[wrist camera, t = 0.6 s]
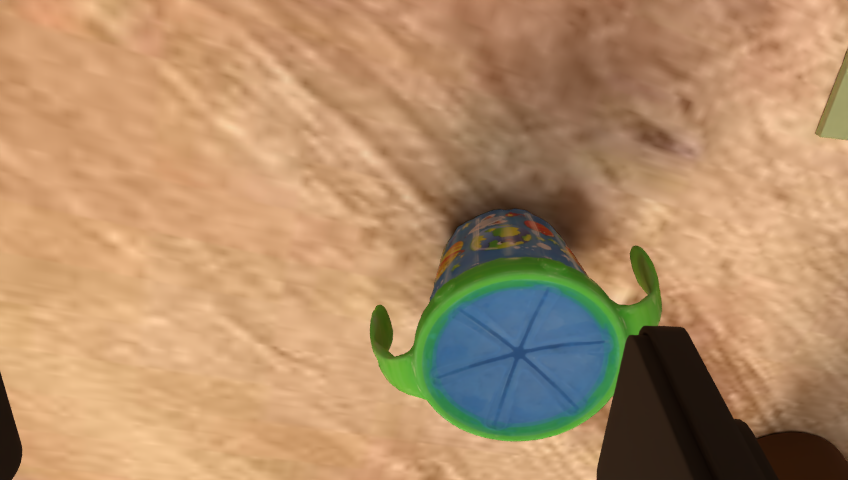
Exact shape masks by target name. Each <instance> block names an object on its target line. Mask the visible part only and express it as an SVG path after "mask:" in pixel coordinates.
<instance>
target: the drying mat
mask: <svg viewBox="0 0 848 480" xmlns="http://www.w3.org/2000/svg"><path fill="white" fill-rule="evenodd" d="M816 134H817V135H818V136H819V137H824V138H833V139H841V140H848V51H847V53H846V56H845V59H844V61H843V64H842V66H841V69H840V71H839V74H838V77H837V79H836V82H835V84H834V87H833V89H832V92H831V95H830V97H829V100H828V102H827V105H826V107H825V110H824V113H823V115H822V118H821V120H820V123H819V125H818V128H817V131H816Z"/></svg>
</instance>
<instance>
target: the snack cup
mask: <svg viewBox="0 0 848 480" xmlns="http://www.w3.org/2000/svg"><path fill="white" fill-rule="evenodd" d="M630 260H631V264H632V268H633V271H634V274H635V276H636V279H637V281H638V283H639V285H640V286H641V287H642V289H643V290H644V291H645V292H646V293H647V294H648V295H647V296H646V297H645V298H644V299H643V300H641V301H640V302H638V303H636V304H632V305H619V304H617V303H615V302H614V301H612V300H611V299H610V298H609V297H608V296H607V294H606V293H605V292H604V291H603V290H602V289H601V288H600V287H599V286H598V285H597V284H596V283H595V282H594V281H593V280H592V279H590V278H589V277H588V275H587V274H586V272H585V271H584V269H583V268H582V266H581V265H580V263H579V262H578V260H577V259H576V257H575V256H574V255H573V253H572V252H571V250H570V249H569V248H568V247H567V246H566V243H565V241H564V240H563V239H562V238H561V236H560V235H558V234H557V233H556V231H555V230H554V228H553V227H552V226H551V225H550V224H548V223H547V222H546V221H544V220H543V219H541V218H539V217H537V216H535V215H532V214H531V213H530V212H528V211H526V210H520V209H512V210H501V209H498V210H492V211H489V212H487V213H484V214H481V215H479V216H477V217H475V218H474V219H472V220H469V221H467V222H465V223H464V224H462V225H460V226H459V227H457V229H456V231H455V233H454V235H453V236H452V237H451V239H450V240H449V241H448V242H447V244H446V246H445V248H444V250H443V253H442V256H441V260H440V264H439V268H438V272H437V275H436V279H435V282H434V289H433V292H432V295H431V297H430V302H429V304H428V306H427V307H426V308H425V310H424V311H423V314H422V316H421V319H420V321H419V323H418V326H417V330H416V334H415V341H414V345H413V347H412V348H411V349H410V351H408V352H407V353H405V354H403V355H399V356H396V357H394V356H393V355H392V354H391V353H390V352H388V351H389V349H390V346H391V343H392V340H393V329H392V325H391V321H390V318H389V315H388V313H387V311H386V309H385V307H384V306H382V305H377V306H376V308H375V310H374V311H373V313H372V318H371V324H370V339H371V344H372V349H373V352H374V354H375V356H376V358H377V360H378V363H379V367H380V369H381V371H382V373H383V374H384V376H385V377H386V379H387V380H388V381H389V382H390V383H391V384H392V385H393V386H395V387H396V388H397V389H398V390H400V391H402V392H404V393H406V394H408V395H412V396H416V397H419V398H423V399H425V400H427V401H428V402H429V403H430V405H431V406H432V407H433V408H434V409H435V411H436V412H437V413H438V414H440V415H441V416H442V417H443V418H444V419H446V420H447V421H449V422H450V423H451V424H453V425H455V426H456V427H458V428H460V429H462V430H464V431H466V432H469V433H472V434H474V435H478V436H481V437H484V438H489V439H496V440H501V441H529V440H537V439H543V438H547V437H551V436H555V435H558V434H561V433H563V432H566V431H568V430H570V429H573V428H575V427H577V426H578V425H580V424H582V423H583V422H585V421H586V420H588V419H589V418H590V417H592V416H593V415H594V414H596V413H597V412H598V411H599V410H600V409H601V408H602V407H603V406H604V405H605V404H606V403H607V402H608V401H609V400H610V398H611V397H612V396H613V395H614V391H615V387H616V382H617V378H618V373H619V369H620V365H621V360H622V356H623V351H624V347H625V343H626V340H627V338H628V336H629V335H638V334H639V331H640V329H641V328H642V327H643V326H658V324H659V321H660V317H661V312H662V303H661V296H660V290H659V282H658V277H657V273H656V271H655V268H654V265H653V263H652V261H651V259H650V258H649V256H648V255H647V253H646V252H645V251H644V250H643V249H642V248H641V247H639V246H633V247H632V249H631V251H630Z"/></svg>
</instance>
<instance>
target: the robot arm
mask: <svg viewBox="0 0 848 480" xmlns="http://www.w3.org/2000/svg"><path fill="white" fill-rule="evenodd" d="M21 458H22V445H21V441H20V438H19V434H18V431H17V428H16V424H15V421H14V417H13V414H12V410H11V407H10V404H9V400H8V397H7V393H6V390H5V386H4V383H3V380H2V376H1V373H0V480H12V479H13V477H14V476H15V474H16V472H17V470H18V468H19V466H20V463H21ZM597 480H779V479H778V477H777V475H776V474H775V472H774V470H773V468H772V466H771V465H770V463H769V461H768V459H767V457H766V456H765V454H764V452H763V450H762V448H761V446H760V445H759V443H758V441H757V439H756V437H755V436H754V434H753V432H752V431H751V429H750V428H749V427H748V425H747V424H746V423H745V422H743V421H741V420H740V419H733V417H732V415H731V413H730V411H729V409H728V407H727V406H726V404H725V402H724V400H723V398H722V396H721V394H720V392H719V391H718V389H717V387H716V385H715V383H714V381H713V379H712V377H711V376H710V374H709V372H708V370H707V368H706V366H705V364H704V362H703V361H702V359H701V357H700V355H699V353H698V351H697V349H696V348H695V346H694V344H693V342H692V340H691V338H690V336H689V334H688V333H687V331H686V330H685V329H684V328H682V327H669V326H643V327H642V328H641V329H640V331H639V334H638V335H629V336H628V338H627V340H626V343H625V347H624V351H623V356H622V360H621V365H620V369H619V373H618V378H617V382H616V387H615V391H614V396H613V400H612V404H611V409H610V413H609V418H608V422H607V427H606V431H605V436H604V440H603V444H602V449H601V453H600V458H599V462H598V467H597Z"/></svg>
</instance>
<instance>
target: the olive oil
mask: <svg viewBox="0 0 848 480" xmlns="http://www.w3.org/2000/svg"><path fill="white" fill-rule="evenodd" d="M757 441H758V443H759V445H760V446H761V448H762V450H763V452H764V454H765V456H766V457H767V459H768V461H769V463H770V465H771V466H772V468H773V470H774V472H775V474H776V475H777V477H778V479H779V480H848V462H847V461H846V460H845V458H844V457H843V456H842V454H841V453H840V452H839V451H838V449H837V448H836V447H835V446H833V445H832V444H831V443H830V442H828V441H827V440H825V439H823V438H821V437H818V436H815V435H811V434H806V433H797V432H788V433H778V434H773V435H769V436H765V437H762V438H759V439H757Z"/></svg>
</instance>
